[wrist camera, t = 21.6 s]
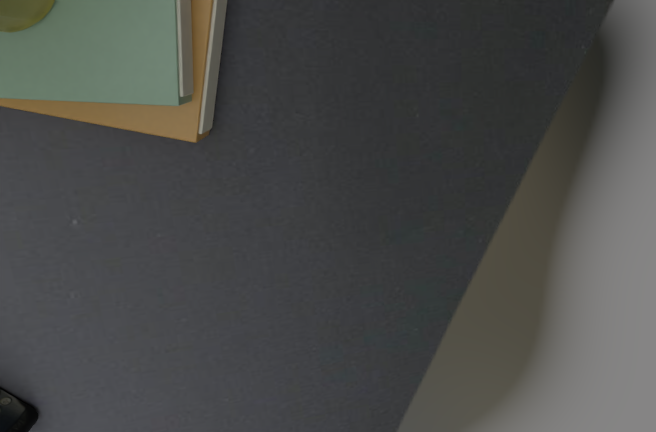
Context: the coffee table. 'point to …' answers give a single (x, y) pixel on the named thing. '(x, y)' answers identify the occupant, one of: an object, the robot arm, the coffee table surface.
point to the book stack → (119, 64)
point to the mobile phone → (15, 414)
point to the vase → (22, 13)
